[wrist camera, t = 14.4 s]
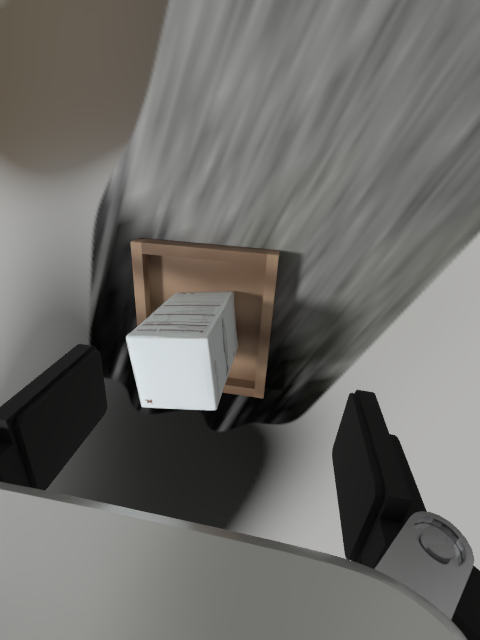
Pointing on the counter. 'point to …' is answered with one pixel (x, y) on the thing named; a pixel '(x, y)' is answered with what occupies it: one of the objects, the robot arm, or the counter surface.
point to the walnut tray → (214, 276)
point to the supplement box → (185, 351)
